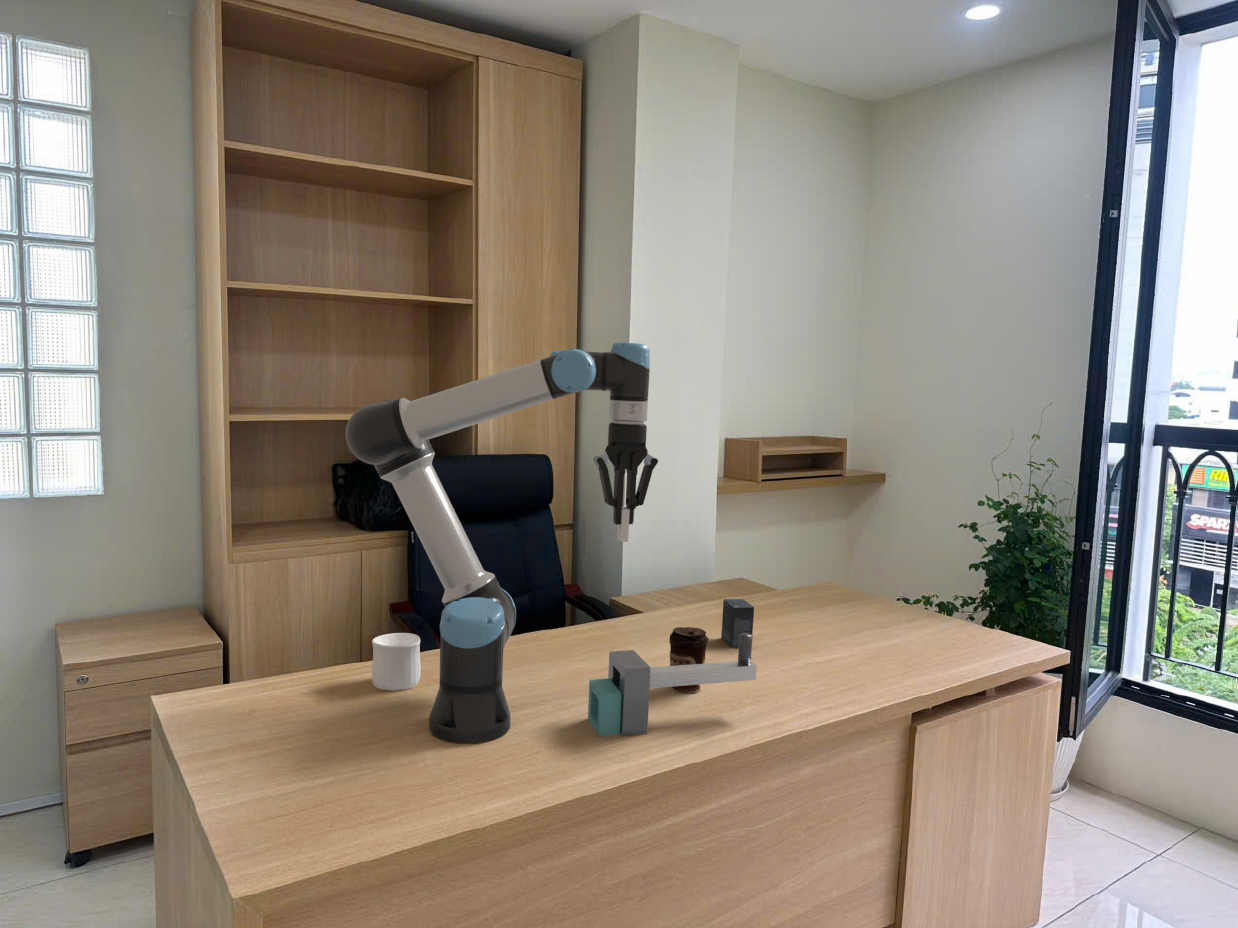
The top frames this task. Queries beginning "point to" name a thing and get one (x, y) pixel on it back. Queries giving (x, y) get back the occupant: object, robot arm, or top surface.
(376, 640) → the cup
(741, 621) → the box
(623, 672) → the bearing block
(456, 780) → the top surface
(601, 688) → the spacer
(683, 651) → the coffee cup
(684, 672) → the shaft
